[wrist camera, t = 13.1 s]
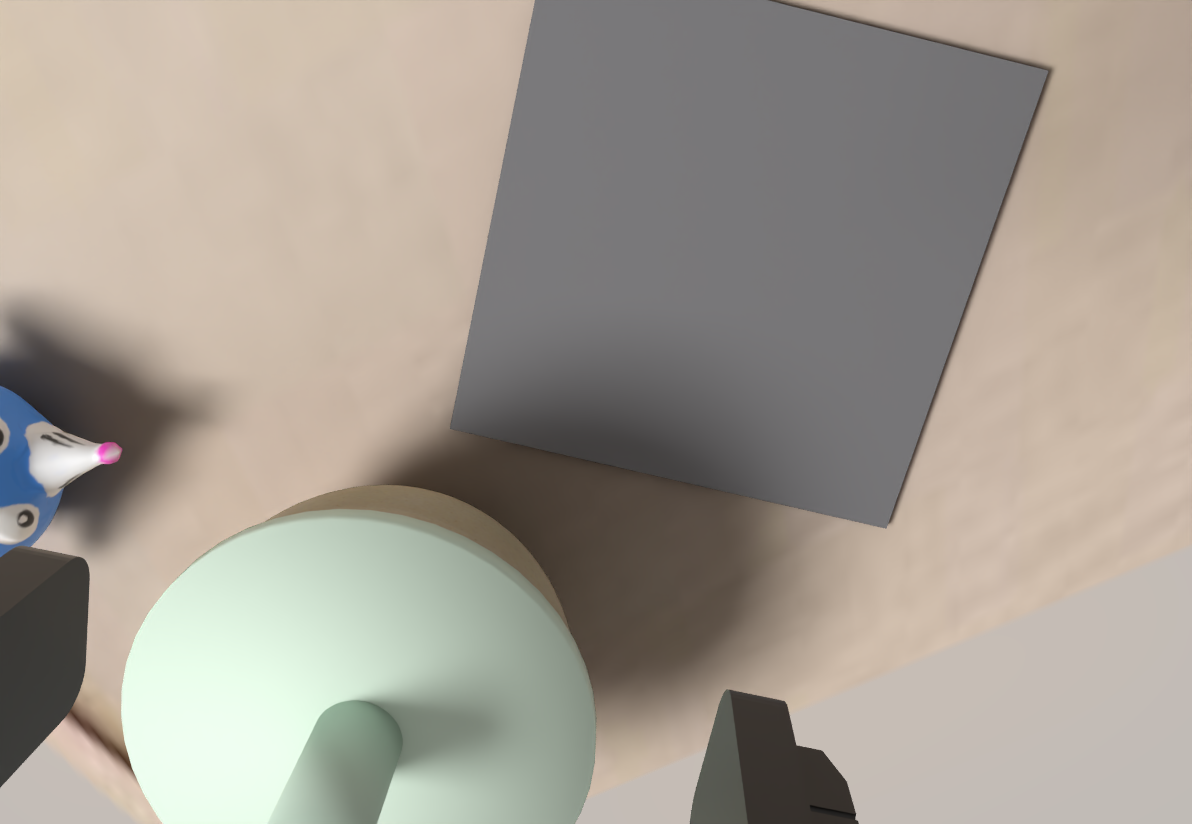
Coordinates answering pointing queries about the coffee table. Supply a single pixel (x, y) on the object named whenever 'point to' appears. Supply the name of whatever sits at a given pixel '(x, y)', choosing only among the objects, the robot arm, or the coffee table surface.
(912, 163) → the mat
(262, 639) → the lid
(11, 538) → the blue mole toy
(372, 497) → the planter bowl
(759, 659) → the coffee table surface
